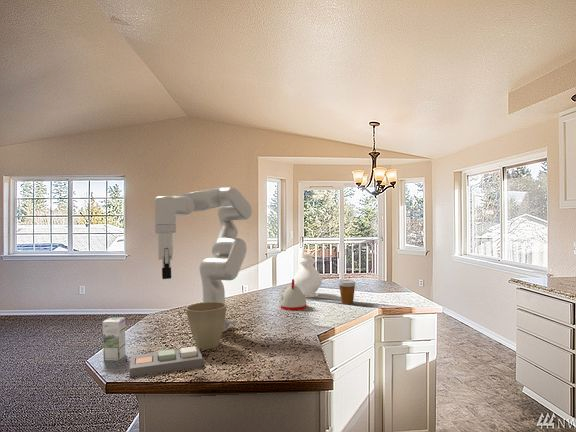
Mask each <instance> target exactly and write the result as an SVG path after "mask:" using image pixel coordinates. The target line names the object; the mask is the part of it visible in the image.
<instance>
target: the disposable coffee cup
mask: <svg viewBox="0 0 576 432" xmlns="http://www.w3.org/2000/svg"><path fill="white" fill-rule="evenodd" d="M338 286H339V293H340V298H341V304H343V305H352V304H354V297H355V287H356V282H355V280H352V279H351V280H348V279H345V280H339V281H338Z"/></svg>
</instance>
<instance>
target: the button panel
mask: <svg viewBox="0 0 576 432" xmlns="http://www.w3.org/2000/svg"><path fill="white" fill-rule="evenodd" d="M195 347H196V350H197V356H192V357H185V358H181V356H180V348H178V349H174V352H175V359H170V360H163V361H159V351H157V352H150V353H149V352H148V353H141V354H134V355H131V359H130V363H129V364H130V365H129V377H130V378H131V377H132V376H133V377H138V376H139V375H140V376H146V375H151V374H152V375H153V374H159V373H160V372H161V373H165V372H174V371H181V370H188V369H192V368H201V367H203V366H204V363H203V361H204V359H203V356H202V352H201V349H199V347H197V346H195ZM151 356H152V362H148V363H141V364H135V363H136V358H143V357H151ZM140 376H139V377H140ZM133 377H132V378H133Z"/></svg>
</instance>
